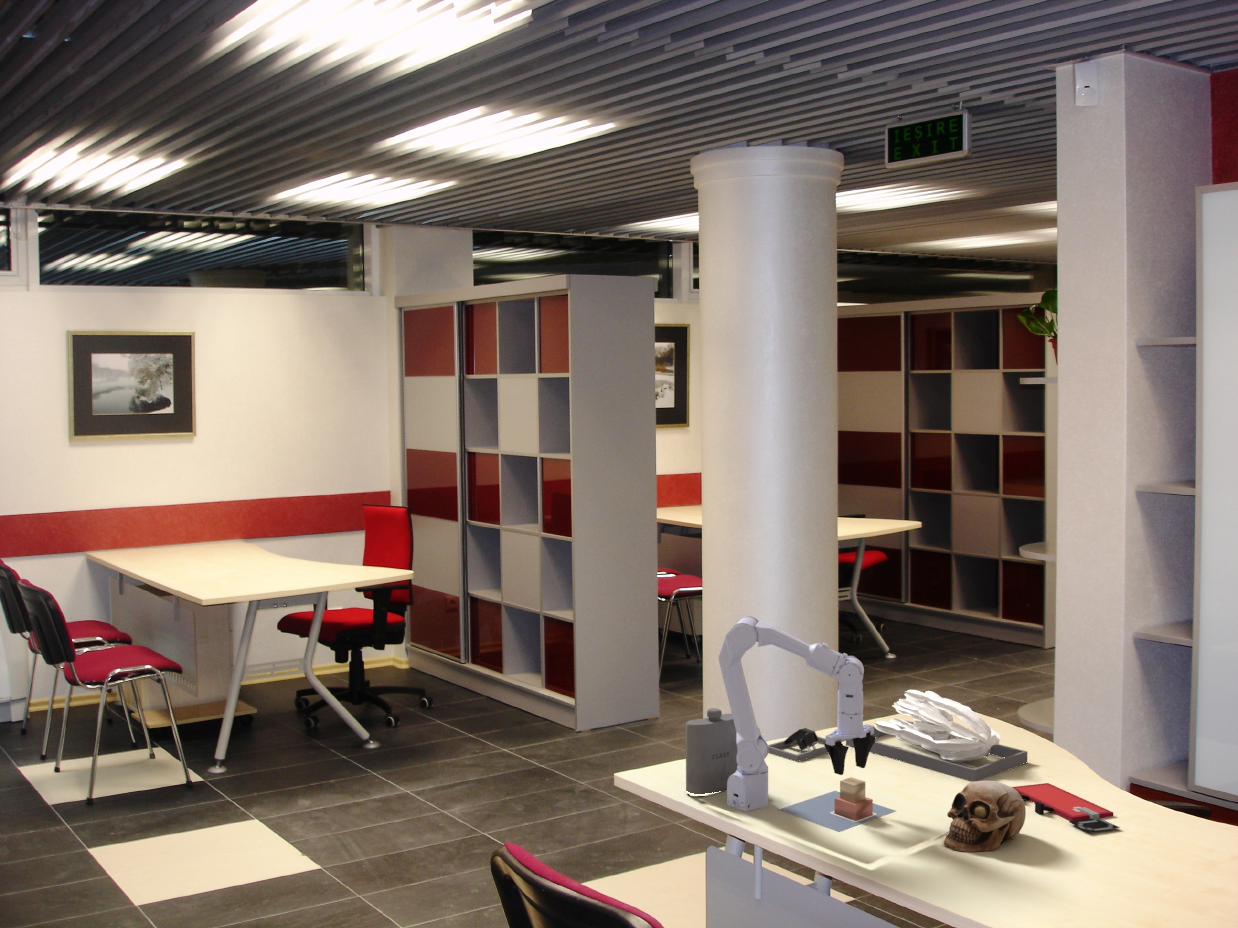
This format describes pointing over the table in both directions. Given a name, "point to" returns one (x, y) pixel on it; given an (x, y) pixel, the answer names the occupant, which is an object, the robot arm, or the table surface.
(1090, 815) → the red board with handle
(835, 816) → the board
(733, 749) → the flask
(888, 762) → the table surface
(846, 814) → the base block
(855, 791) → the maple cube
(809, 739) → the power plug
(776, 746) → the frame
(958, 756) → the white sculpture
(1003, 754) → the grey tray
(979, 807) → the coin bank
